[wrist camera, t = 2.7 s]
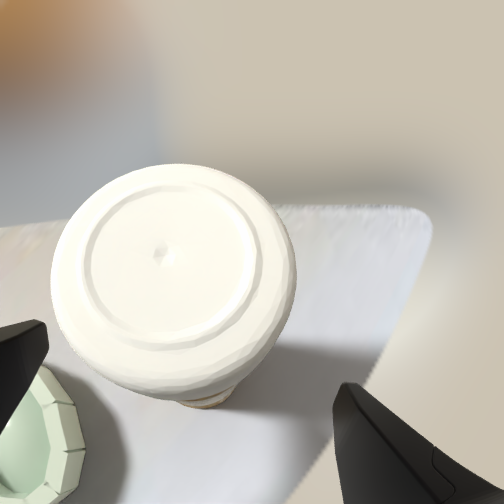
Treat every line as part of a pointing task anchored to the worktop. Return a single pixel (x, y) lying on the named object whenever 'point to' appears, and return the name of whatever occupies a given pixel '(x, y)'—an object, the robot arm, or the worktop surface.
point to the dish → (41, 446)
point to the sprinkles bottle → (174, 282)
